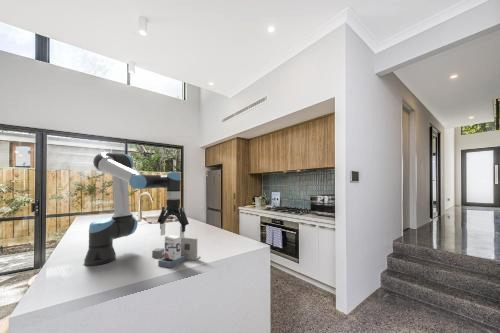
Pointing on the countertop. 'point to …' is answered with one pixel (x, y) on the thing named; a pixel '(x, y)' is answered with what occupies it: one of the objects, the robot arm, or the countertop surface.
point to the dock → (171, 261)
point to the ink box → (172, 247)
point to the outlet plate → (189, 248)
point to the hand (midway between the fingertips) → (172, 236)
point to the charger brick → (158, 252)
